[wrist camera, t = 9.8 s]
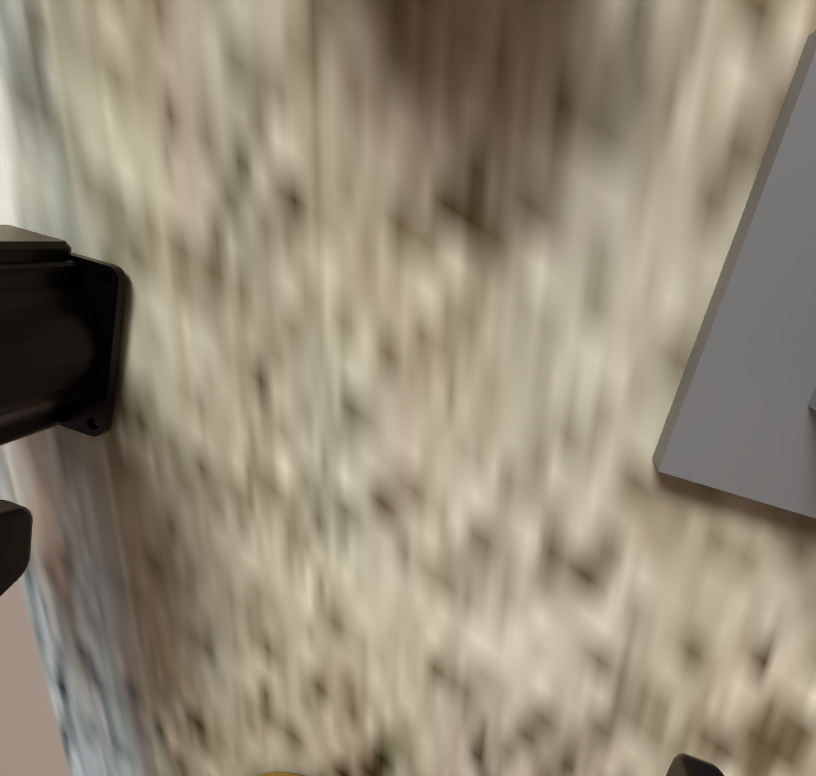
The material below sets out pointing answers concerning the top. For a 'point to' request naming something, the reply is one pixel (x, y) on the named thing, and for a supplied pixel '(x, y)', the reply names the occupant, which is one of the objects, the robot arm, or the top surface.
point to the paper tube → (279, 774)
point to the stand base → (760, 334)
